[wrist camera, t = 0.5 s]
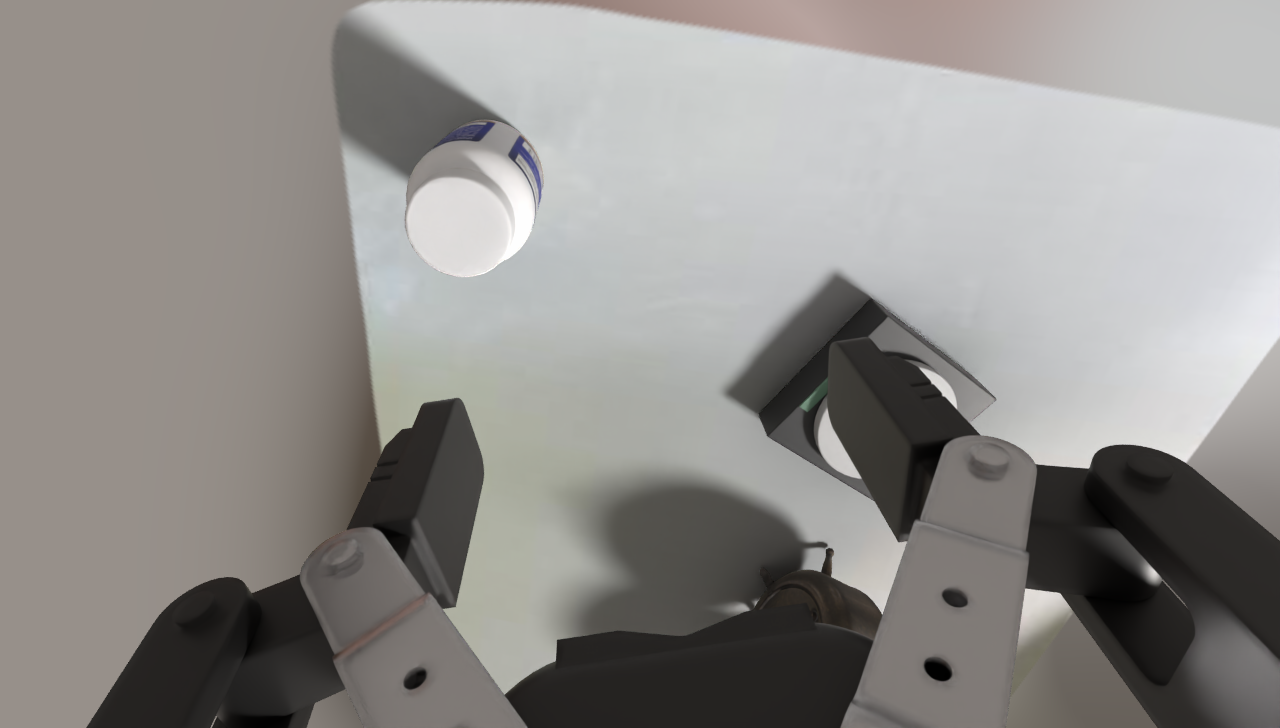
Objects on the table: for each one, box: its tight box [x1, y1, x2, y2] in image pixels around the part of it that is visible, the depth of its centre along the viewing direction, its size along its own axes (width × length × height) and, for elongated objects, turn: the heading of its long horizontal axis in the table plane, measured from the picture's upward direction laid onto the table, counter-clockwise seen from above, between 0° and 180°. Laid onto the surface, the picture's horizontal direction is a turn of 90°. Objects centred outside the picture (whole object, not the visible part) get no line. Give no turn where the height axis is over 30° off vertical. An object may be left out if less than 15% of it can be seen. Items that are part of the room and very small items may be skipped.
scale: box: [759, 299, 996, 501], centre depth 37 cm, size 10×10×3 cm
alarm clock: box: [753, 548, 882, 640], centre depth 40 cm, size 11×5×16 cm, turn 147°
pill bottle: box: [405, 120, 544, 277], centre depth 26 cm, size 5×5×9 cm
